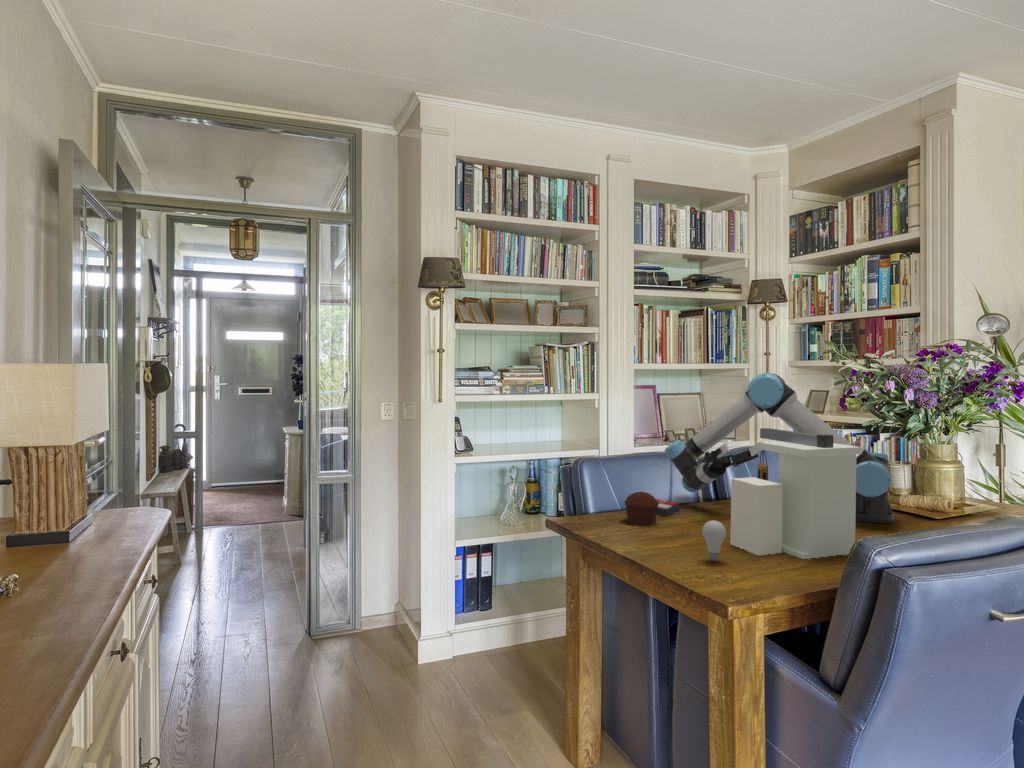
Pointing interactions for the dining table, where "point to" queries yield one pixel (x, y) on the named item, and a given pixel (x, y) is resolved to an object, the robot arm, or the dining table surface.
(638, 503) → the muffin
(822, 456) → the stand
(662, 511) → the red and black box
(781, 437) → the rod
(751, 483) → the post
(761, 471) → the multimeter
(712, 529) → the lightbulb
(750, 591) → the dining table surface
